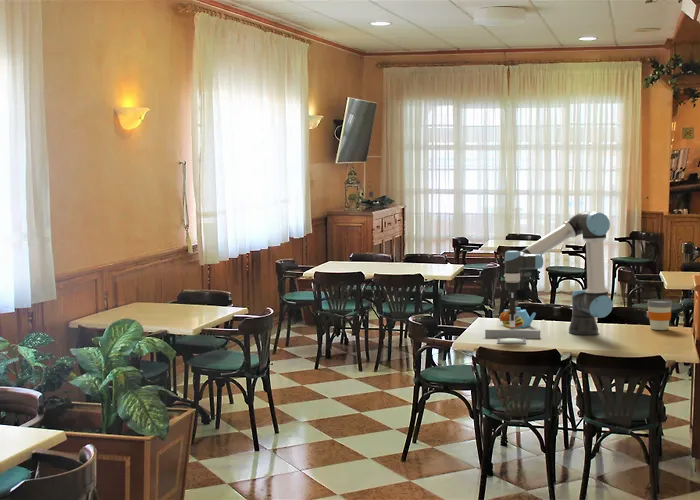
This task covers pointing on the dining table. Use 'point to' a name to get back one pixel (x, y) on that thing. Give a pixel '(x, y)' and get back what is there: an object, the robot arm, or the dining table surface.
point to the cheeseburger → (506, 319)
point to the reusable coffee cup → (659, 314)
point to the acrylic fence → (512, 333)
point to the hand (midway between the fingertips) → (512, 325)
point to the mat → (511, 341)
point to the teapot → (524, 317)
